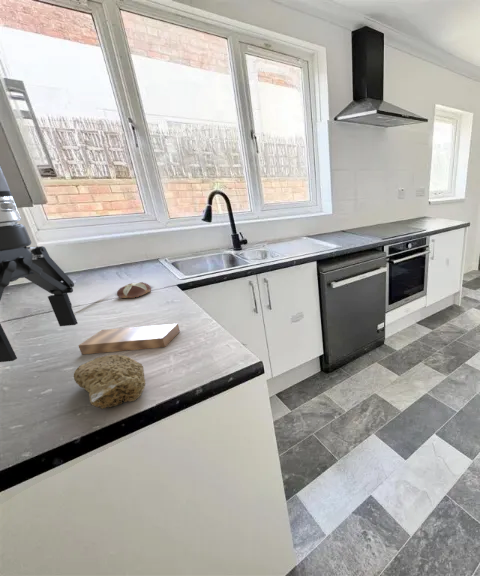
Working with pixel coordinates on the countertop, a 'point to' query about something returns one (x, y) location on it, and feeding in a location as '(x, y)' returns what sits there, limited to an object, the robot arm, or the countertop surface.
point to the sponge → (111, 380)
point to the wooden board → (129, 339)
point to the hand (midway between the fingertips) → (40, 341)
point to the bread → (133, 290)
